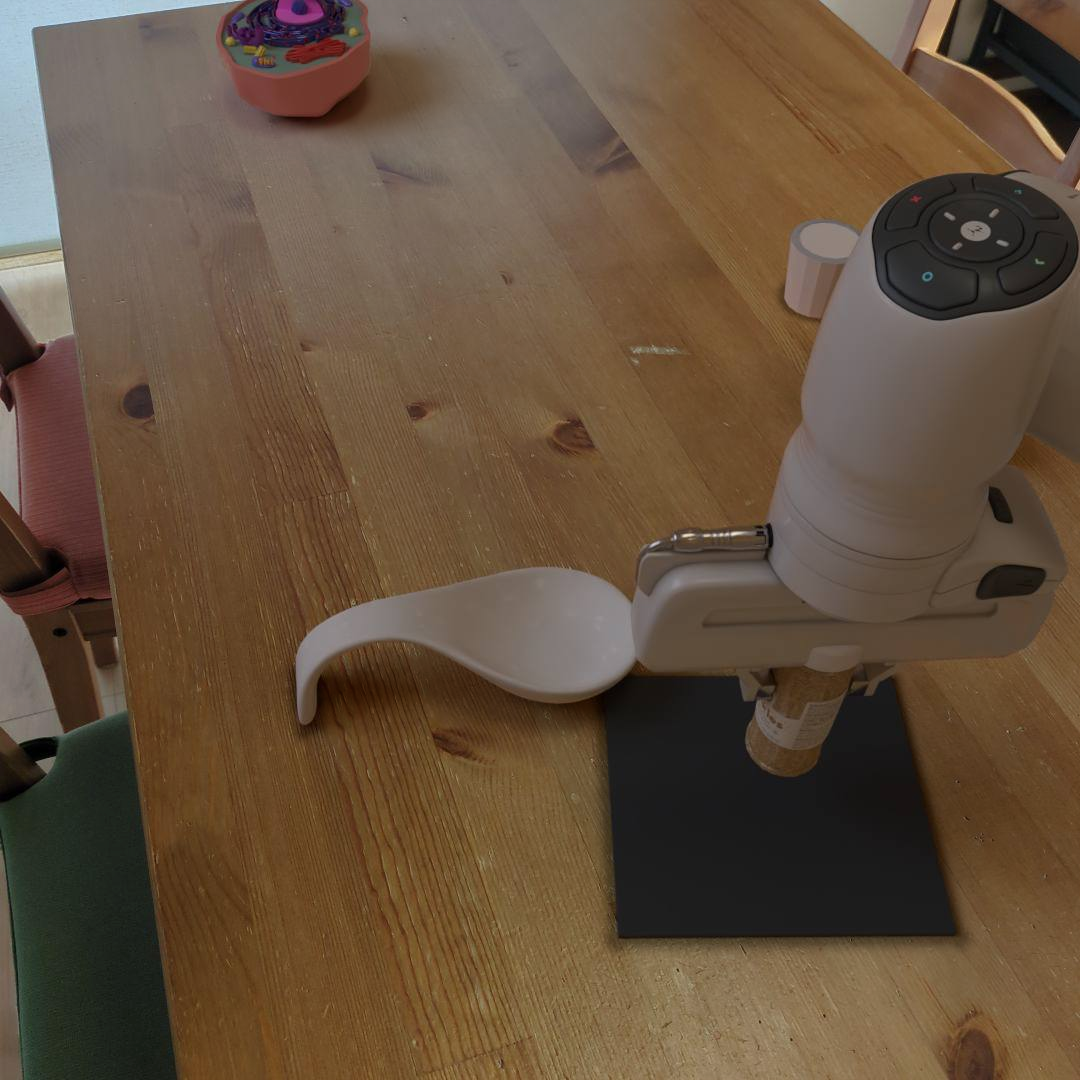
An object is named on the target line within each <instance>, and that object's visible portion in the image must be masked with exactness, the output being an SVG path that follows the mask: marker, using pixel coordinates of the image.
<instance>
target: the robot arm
mask: <svg viewBox="0 0 1080 1080" xmlns="http://www.w3.org/2000/svg"><path fill="white" fill-rule="evenodd" d="M861 232H862V233H861V235H860V237H859V238H858V240H857V242H856V244H855V246H854V247H853V249H852V251H851V253H850V255H849V257H848V259H847V261H846V263H845V265H844V268H843V270H842V272H841V274H840V276H839V278H838V281H837V283H836V285H835V288H834V290H833V292H832V295H831V297H830V300H829V302H828V305H827V307H826V310H825V313H824V315H823V318H821V320H820V324H819V327H818V330H817V333H816V335H815V338H814V342H813V346H812V348H811V352H810V355H809V359H808V361H807V366H806V370H805V373H804V376H803V381H802V385H801V390H800V391H801V392H800V409H801V417H802V420H801V423H800V424H799V425H798V427H796V429H795V431H794V432H793V433H792V435H791V436H790V438H789V440H788V442H787V445H786V446H785V449H784V452H783V456H782V460H781V463H780V466H779V470H778V474H777V477H776V481H775V486H774V489H773V493H772V497H771V499H770V505H769V508H768V511H767V515H766V518H765V523H764V524H744V525H741V524H740V525H729V526H723V527H715V528H701V527H697V526H696V527H695V526H692V527H691V526H689V527H681V528H676V529H672V531H671V533H670V536H665V537H662V538H659V539H657V540H654V541H652V542H651V543H649V542H648V543H646V544H644V545H642V547H641V548H640V550H639V552H638V554H637V557H636V563H635V571H634V582H635V584H636V589H635V591H634V595H633V599H632V602H631V603H632V608H631V626H632V635H633V642H634V648H635V654H636V657H637V660H638V661H637V662H639V663H640V664H641V665H642V666H643V667H645V668H646V669H647V670H649V671H650V672H653V673H678V672H700V671H723V670H733V673H734V674H735V676H738V677H739V678H740V686H741V691H742V696H743V700H744V701H758V700H771V699H772V693H773V692H774V690H775V687H776V684H775V680H774V676H773V675H772V674H771V670H772V668H773V667H796V666H804V664H806V663H807V662H808V659H809V656H810V653H811V650H812V649H814V648H816V647H822V646H839V645H861V646H863V647H864V649H863V652H862V654H861V657H860V659H859V663H858V664H857V666H856V668H855V671H854V673H853V675H852V678H851V682H850V685H849V688H848V690H847V692H846V694H845V696H872V695H873V694H874V692H875V690H876V687H877V685H878V683H879V681H883V680H884V679H886V678H888V677H890V676H891V677H892V676H893V675H895V674H896V673H899V672H901V671H902V670H904V669H905V668H907V667H909V666H910V663H911V662H929V661H932V662H933V661H955V660H956V661H957V660H978V659H1003V658H1007V657H1010V656H1012V655H1015V654H1017V653H1019V652H1020V651H1023V650H1024V649H1026V648H1028V647H1029V646H1030V645H1031V644H1032V643H1033V642H1034V640H1035V638H1036V637H1037V635H1038V634H1039V633H1040V631H1041V629H1042V628H1043V626H1044V625H1045V622H1046V621H1047V619H1048V616H1049V614H1050V612H1051V610H1052V607H1053V605H1054V602H1055V590H1056V589H1057V588H1059V587H1060V586H1061V584H1062V583H1063V582H1064V581H1065V579H1066V577H1067V576H1068V574H1069V566H1068V562H1067V559H1066V555H1065V552H1064V550H1063V547H1062V544H1061V541H1060V539H1059V536H1058V534H1057V532H1056V528H1055V527H1054V523H1052V519H1051V518H1050V515H1049V513H1048V511H1047V510H1046V507H1045V506H1044V503H1043V502H1042V500H1041V498H1040V496H1039V494H1038V492H1037V491H1036V490H1035V488H1034V486H1033V484H1032V483H1031V481H1030V480H1029V478H1028V477H1027V475H1026V474H1025V472H1024V471H1023V470H1022V469H1021V468H1019V467H1017V466H1016V465H1015V466H1014V465H1011V464H1008V463H1009V462H1010V461H1011V460H1012V458H1013V456H1014V455H1015V453H1016V451H1017V450H1018V448H1019V446H1020V444H1021V441H1022V439H1023V437H1024V436H1025V435H1026V436H1028V437H1029V438H1031V439H1033V440H1035V441H1036V442H1038V443H1040V444H1041V445H1042V446H1045V447H1046V448H1048V449H1050V450H1051V451H1053V452H1055V453H1057V454H1058V455H1060V456H1062V457H1063V458H1065V459H1066V460H1068V461H1070V462H1072V463H1073V464H1075V465H1076V466H1079V467H1080V189H1077V188H1075V187H1073V186H1070V185H1067V183H1064V182H1062V181H1059V180H1057V179H1054V178H1051V177H1048V176H1046V175H1042V174H1037V173H1032V172H1031V171H1029V170H1026V169H1015V170H1010V171H1004V172H1000V173H996V174H991V173H985V172H952V173H951V172H950V173H945V174H938V175H935V176H930V177H927V178H924V179H921V180H918V181H915V182H913V183H911V184H909V185H906V186H904V187H903V188H901V189H900V190H898V191H896V192H895V193H894V194H892V195H891V196H890V197H888V198H887V199H885V200H884V202H882V203H881V205H879V206H878V208H877V209H876V210H875V211H874V213H873V214H872V215H871V217H870V219H869V220H868V221H867V223H866V225H865V226H864V228H863V229H862V231H861Z"/></svg>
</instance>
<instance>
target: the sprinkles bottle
mask: <svg viewBox="0 0 1080 1080" xmlns="http://www.w3.org/2000/svg"><path fill="white" fill-rule="evenodd" d="M863 649H864V647H863V646H861V645H839V646H822V647H816V648H814V649H812V650H811V653H810V656H809V659H808V662H807V663H806V664H804V666H796V667H773V668H772V670H771V674H772V675H773V676H774V680H775V684H776V687H775V690H774V692H773V693H772V699H771V700H758V701H757V703H756V710H755V713H754V715H753V719H752V720H751V722H750V723H749V725H748V727H747V731H746V737H745V743H746V749H747V751H748V752H749V754H750V757H751V758H752V759H753V760H754V761H755V763H756V764H757V765H759V766H760V767H761V768H762V769H763V770H765V771H768V772H769V773H771V774H774V775H778V776H784V777H796V776H799V775H801V774H804V773H806V772H808V771H809V770H811V769H812V768H813V767H814V766H815V764H816V763H817V761H818V758H819V756H820V752H821V746H822V744H823V742H824V740H825V738H826V737H827V735H828V733H829V731H830V729H831V727H832V725H833V722H834V720H835V718H836V715H837V713H838V711H839V708H840V706H841V704H842V701H843V699H844V697H845V694H846V692H847V690H848V688H849V685H850V682H851V678H852V675H853V673H854V671H855V668H856V666H857V664H858V663H859V659H860V657H861V654H862V652H863Z"/></svg>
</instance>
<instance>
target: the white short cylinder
mask: <svg viewBox="0 0 1080 1080" xmlns="http://www.w3.org/2000/svg"><path fill="white" fill-rule="evenodd" d="M861 233H862V231H860V230H859V229H857V227H855V226H853V225H852V224H850V223H846V222H843V221H841V220H838V219H831V218H815V219H808V220H805V221H803V222H801V223H799V224H797V225H796V226H795V228H794V229H793V230H792V231H791V234H790V243H789V250H788V251H789V252H788V259H787V260H788V261H787V268H786V269H787V270H786V279H785V286H784V301H785V303H786V304H787V306H788V308H790V309H792V310H793V311H794V312H796V313H797V314H799V315H802V316H805V317H807V318H815V319H822V318H823V315H824V313H825V310H826V307H827V305H828V302H829V300H830V297H831V295H832V292H833V290H834V288H835V285H836V283H837V281H838V278H839V276H840V274H841V272H842V270H843V268H844V265H845V263H846V261H847V259H848V257H849V255H850V253H851V251H852V249H853V247H854V246H855V244H856V242H857V240H858V238H859V237H860V235H861Z"/></svg>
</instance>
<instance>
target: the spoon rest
mask: <svg viewBox="0 0 1080 1080" xmlns="http://www.w3.org/2000/svg"><path fill="white" fill-rule="evenodd" d="M632 603H633V602H632V601H631V600H630V599H629V598H628V597H627V595H625V594H624V593H623V591H622V590H620V589H619V588H618V587H617V586H615V585H614V584H612V583H611V582H609V581H608V580H605V579H604V578H601V577H599V576H598V575H595V574H592V573H589V572H585V571H582V570H579V569H575V568H574V569H573V568H566V567H558V566H557V567H556V566H535V567H525V568H518V569H512V570H506V571H501V572H498V573H494V574H490V575H485V576H482V577H481V576H480V577H476V578H472V579H469V580H464V581H459V582H454V583H452V584H446V585H443V586H438V587H432V588H429V589H424V590H418V591H414V592H408V593H404V594H399V595H394V596H388V597H383V598H378V599H374V600H370V601H367V602H363V603H361V604H357V605H355V606H353V607H350V608H347V609H345V610H343V611H341V612H338V613H336V614H334V615H332V616H330V617H329V618H326V619H325V620H323V621H322V622H321V623H319V624H317V625H316V626H314V628H313V629H312V630H310V631H309V632H308V634H307V635H305V637H304V639H303V640H302V641H301V643H300V645H299V647H298V649H297V651H296V652H297V653H296V656H295V680H296V681H295V682H296V683H295V685H296V705H297V706H296V708H297V716H298V721H299V723H300V724H301V725H303V726H304V725H305V726H306V725H308V724H311V722H312V721H313V720H314V717H315V716H316V713H317V706H318V691H317V690H318V689H317V688H318V681H319V679H320V677H321V676H322V673H323V672H324V671H325V669H327V667H328V666H329V665H330V664H331V663H333V662H334V661H335V660H337V659H339V658H340V657H343V656H344V655H346V654H348V653H350V652H353V651H355V650H358V649H361V648H363V647H367V646H370V645H371V646H372V645H375V644H381V643H403V644H404V643H406V644H412V645H416V646H420V647H423V648H425V649H428V650H431V651H434V652H436V653H438V654H440V655H442V656H444V657H446V658H448V659H450V660H451V661H453V662H455V663H457V664H459V665H460V666H462V667H464V668H466V669H468V670H469V671H470V672H473V673H474V674H476V675H478V676H479V677H481V678H482V679H484V680H486V681H487V682H489V683H491V684H493V685H495V686H497V687H498V688H499V689H502V690H504V691H506V692H507V693H510V694H512V695H514V696H517V697H519V698H523V699H526V700H530V701H534V702H538V703H546V704H570V703H577V702H580V701H584V700H588V699H590V698H594V697H596V696H598V695H600V694H602V693H604V691H606V690H607V689H609V688H611V687H613V686H614V685H615V684H617V683H618V682H619V681H620V680H622V679H623V678H624V677H625V676H628V674H629V673H630V672H631V671H632V669H633V668H634V667H635V666H636V664H637V662H639V661H638V660H637V657H636V654H635V648H634V642H633V635H632V626H631V608H632Z"/></svg>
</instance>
